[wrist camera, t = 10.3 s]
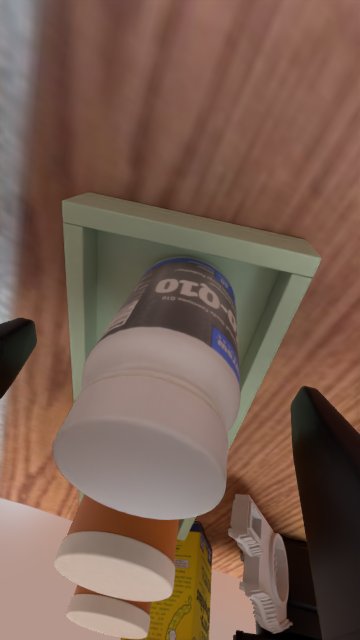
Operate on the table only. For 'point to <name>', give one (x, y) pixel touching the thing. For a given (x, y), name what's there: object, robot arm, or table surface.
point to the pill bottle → (158, 397)
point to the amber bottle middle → (119, 553)
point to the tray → (169, 241)
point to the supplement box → (185, 593)
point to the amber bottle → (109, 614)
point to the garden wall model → (261, 564)
